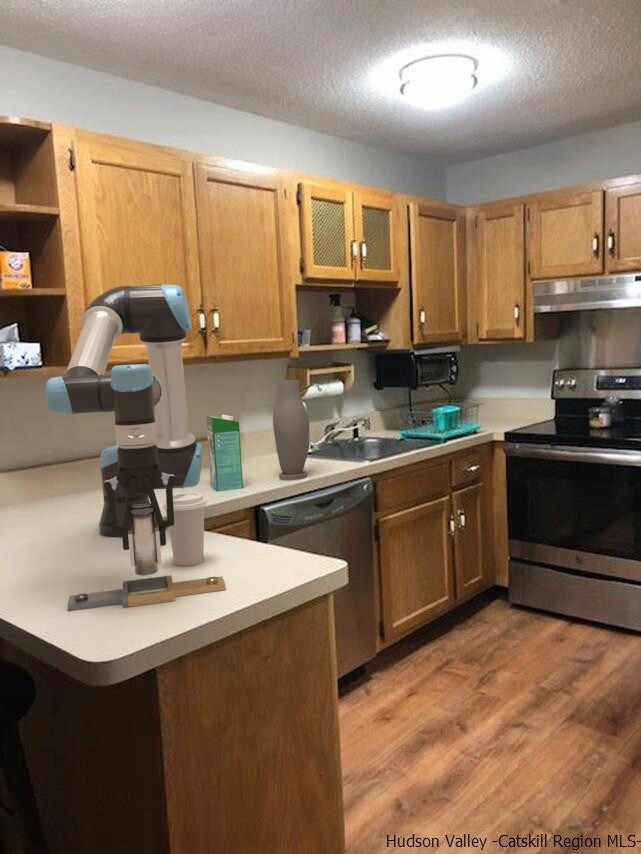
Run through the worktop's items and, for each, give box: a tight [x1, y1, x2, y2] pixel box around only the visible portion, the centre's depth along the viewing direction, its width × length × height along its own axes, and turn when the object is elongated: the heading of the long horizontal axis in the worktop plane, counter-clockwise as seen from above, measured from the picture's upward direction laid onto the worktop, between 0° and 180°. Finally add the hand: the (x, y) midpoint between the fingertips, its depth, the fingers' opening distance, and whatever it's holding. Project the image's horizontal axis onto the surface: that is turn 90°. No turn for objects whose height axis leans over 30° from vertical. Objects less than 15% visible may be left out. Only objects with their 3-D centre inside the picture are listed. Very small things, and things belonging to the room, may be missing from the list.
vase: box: [272, 379, 310, 481], centre depth 250 cm, size 13×13×35 cm
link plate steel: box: [67, 575, 168, 612], centre depth 136 cm, size 10×19×2 cm, turn 105°
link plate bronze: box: [128, 574, 226, 608], centre depth 139 cm, size 10×19×2 cm, turn 105°
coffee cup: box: [162, 492, 207, 567], centre depth 157 cm, size 10×10×15 cm
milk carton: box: [206, 414, 244, 492], centre depth 238 cm, size 9×9×25 cm
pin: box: [129, 502, 159, 576], centre depth 136 cm, size 5×5×13 cm
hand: (146, 563), depth 136 cm, fingers closed on pin, 4 cm apart
